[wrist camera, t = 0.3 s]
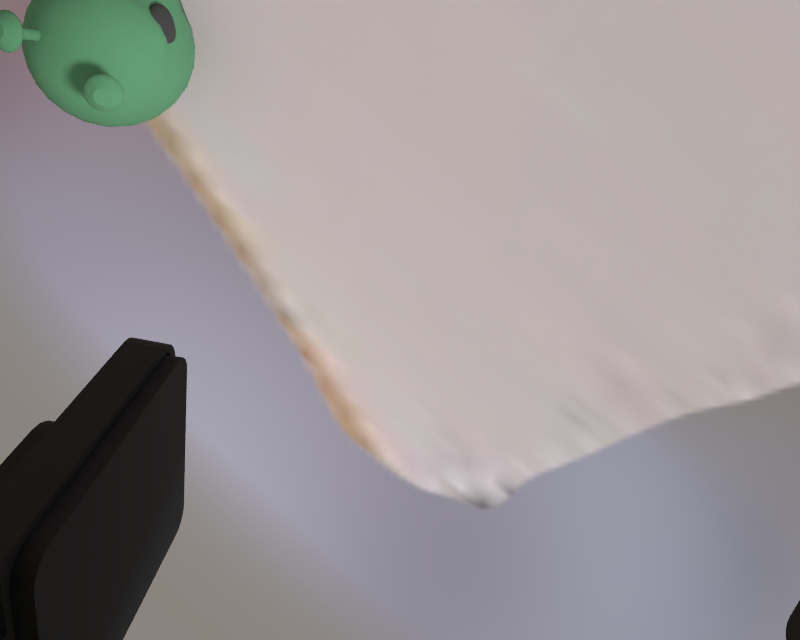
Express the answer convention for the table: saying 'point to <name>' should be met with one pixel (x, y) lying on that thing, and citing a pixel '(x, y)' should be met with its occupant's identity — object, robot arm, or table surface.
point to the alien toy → (105, 55)
